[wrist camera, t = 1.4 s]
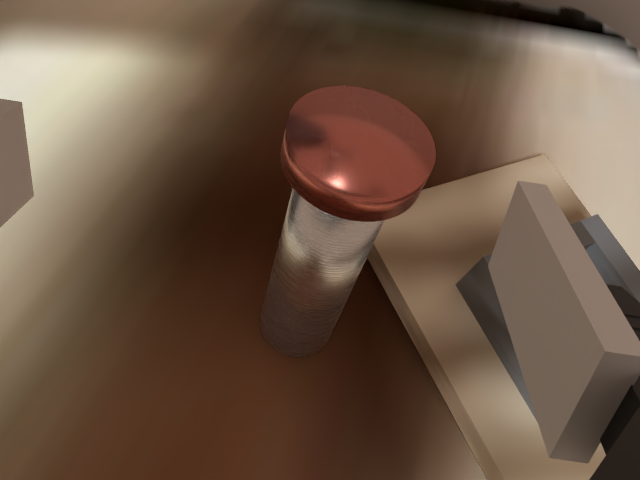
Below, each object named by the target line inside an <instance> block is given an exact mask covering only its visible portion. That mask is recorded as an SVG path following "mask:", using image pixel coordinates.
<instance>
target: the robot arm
mask: <svg viewBox="0 0 640 480" xmlns="http://www.w3.org/2000/svg"><path fill="white" fill-rule="evenodd" d="M33 196H34V193H33V186H32V178H31V170H30V162H29V154H28V147H27V139H26V131H25V123H24V116H23V108H22V102H17V101H11V100H5V99H0V227H1V226H2V225H3V224H4V223H5V222H7V221H8V220H9V219H10V218H11V217H12V216H13V215H14V214H15V213H16V212H17V211H18V210H19V209H20V208H21V207H22V206H23V205H24V204H26V203H27V202H28V201H29V200H30V199H31V198H32V197H33ZM488 268H489V271H490V274H491V277H492V281H493V284H494V287H495V290H496V293H497V296H498V299H499V302H500V306H501V309H502V312H503V315H504V318H505V321H506V324H507V328H508V331H509V334H510V337H511V340H512V343H513V346H514V350H515V353H516V356H517V359H518V362H519V365H520V368H521V372H522V375H523V378H524V381H525V384H526V387H527V390H528V393H529V397H530V400H531V403H532V406H533V409H534V412H535V415H536V419H537V422H538V425H539V428H540V431H541V434H542V437H543V441H544V444H545V447H546V450H547V453H548V456H549V458H553V459H560V460H567V461H573V462H580V463H587V464H588V463H589V461H590V460H591V458H592V456H593V454H594V453H595V451H596V449H597V448H598V446H599V444H600V442H601V444H602V447H603V449H604V451H605V454H606V456H605V457H604V459H603V460H602V462H601V463H600V465H599V466H598V468H597V469H596V471H595V472H594V474H593V475H592V476H591V478H590V479H589V480H640V302H639V301H638V300H637V299H635V298H634V297H633V296H632V295H631V294H629V293H628V292H627V291H626V290H625V289H624V288H622V287H621V286H615V285H609V284H605V282H604V280H603V279H602V277H601V275H600V274H599V272H598V270H597V269H596V267H595V265H594V264H593V262H592V260H591V259H590V257H589V255H588V254H587V252H586V250H585V249H584V247H583V245H582V244H581V242H580V240H579V239H578V237H577V235H576V234H575V232H574V230H573V229H572V227H571V225H570V223H569V222H568V220H567V218H566V217H565V215H564V213H563V212H562V210H561V208H560V207H559V205H558V203H557V202H556V200H555V198H554V197H553V195H552V193H551V192H550V190H549V188H548V187H547V185H544V184H537V183H531V182H525V181H518V182H517V185H516V187H515V190H514V193H513V196H512V199H511V202H510V205H509V207H508V210H507V213H506V216H505V219H504V222H503V224H502V227H501V230H500V233H499V236H498V239H497V242H496V244H495V247H494V250H493V253H492V256H491V259H490V261H489V264H488Z"/></svg>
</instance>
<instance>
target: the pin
mask: <svg viewBox="0 0 640 480" xmlns="http://www.w3.org/2000/svg"><path fill="white" fill-rule="evenodd" d="M280 160H281V166H282V169H283V172H284V174H285V176H286V178H287V180H288V182H289V183H290V185H291V186H292V187H293V189H292V193H291V197H290V201H289V205H288V209H287V212H286V216H285V220H284V224H283V228H282V232H281V236H280V240H279V244H278V248H277V252H276V256H275V260H274V264H273V268H272V272H271V276H270V280H269V283H268V287H267V291H266V295H265V299H264V303H263V307H262V311H261V315H260V328H261V332H262V334H263V336H264V338H265V339H266V341H267V342H268V343H269V344H270V345H271V346H272V347H273V348H274V349H276V350H277V351H279V352H281V353H283V354H286V355H289V356H294V357H304V356H309V355H312V354H314V353H316V352H318V351H320V350H321V349H322V348H323V347H324V346H325V345H326V344H327V342H328V340H329V338H330V336H331V334H332V332H333V330H334V328H335V325H336V323H337V321H338V319H339V317H340V315H341V312H342V310H343V308H344V306H345V304H346V302H347V300H348V297H349V295H350V293H351V291H352V289H353V287H354V284H355V282H356V280H357V278H358V276H359V274H360V272H361V269H362V267H363V265H364V263H365V261H366V259H367V256H368V254H369V252H370V250H371V248H372V246H373V244H374V241H375V239H376V237H377V235H378V233H379V231H380V228H381V226H382V224H383V222H384V220H387V219H391V218H393V217H396V216H398V215H400V214H402V213H404V212H405V211H407V210H408V209H409V208H410V207H411V206H412V205H413V204H414V203H415V202H416V200H417V198H418V197H419V195H420V193H421V191H422V189H423V187H424V185H425V183H426V181H427V179H428V177H429V175H430V173H431V171H432V169H433V167H434V164H435V160H436V148H435V143H434V140H433V138H432V135H431V133H430V132H429V130H428V128H427V127H426V125H425V124H424V123H423V121H422V120H421V119H420V118H419V117H418V116H417V115H416V114H415V113H414V112H413V111H411V110H410V109H409V108H407V107H406V106H405V105H403V104H402V103H400V102H398V101H397V100H395V99H393V98H391V97H389V96H387V95H384V94H382V93H379V92H376V91H373V90H370V89H366V88H361V87H355V86H330V87H324V88H320V89H317V90H314V91H311V92H310V93H308V94H306V95H304V96H303V97H301V98H300V99H299V100H298V101H297V102H296V103H295V104H294V105H293V107H292V108H291V110H290V112H289V115H288V119H287V123H286V128H285V133H284V137H283V142H282V147H281V151H280Z"/></svg>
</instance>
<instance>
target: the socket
mask: <svg viewBox="0 0 640 480" xmlns="http://www.w3.org/2000/svg"><path fill="white" fill-rule="evenodd" d="M518 181H525V182H531V183H537V184H544V185H547V187H548V188H549V190H550V192H551V193H552V195H553V197H554V198H555V200H556V202H557V203H558V205H559V207H560V208H561V210H562V212H563V213H564V215H565V217H566V218H567V220H568V222H569V223H570V225H571V227H572V229H573V230H574V232H575V234H576V235H577V237H578V239H579V240H580V242H581V244H582V245H583V247H584V249H585V250H586V252H587V254H588V255H589V257H590V259H591V260H592V262H593V264H594V265H595V267H596V269H597V270H598V272H599V274H600V275H601V277H602V279H603V280H604V282H605V284H609V285H615V286H621V287H622V288H624V289H625V290H626V291H627V292H628V293H629V294H631V295H632V296H633V297H634V298H635V299H637V300H638V301H639V302H640V271H639V269H638V268H637V267H636V265H635V264H634V263H633V261H632V260H631V259H630V257H629V256H628V255H627V253H626V252H625V250H624V249H623V248H622V246H621V245H620V244H619V242H618V241H617V240H616V238H615V237H614V236H613V234H612V233H611V232H610V230H609V229H608V227H607V226H606V225H605V223H604V222H603V221H602V219H601V218H600V217H599V215H598V214H597V215H594V216H591V215H590V214H589V212H588V211H587V210H586V208H585V207H584V205H583V204H582V203H581V201H580V200H579V199H578V197H577V196H576V195H575V193H574V192H573V190H572V189H571V188H570V186H569V185H568V184H567V182H566V181H565V179H564V178H563V177H562V175H561V174H560V173H559V171H558V170H557V169H556V167H555V166H554V164H553V163H552V162H551V160H550V159H549V158H548V156H547V155H546V154H543V155H540V156H537V157H533V158H530V159H526V160H523V161H520V162H516V163H513V164H509V165H506V166H503V167H499V168H496V169H492V170H489V171H486V172H482V173H479V174H475V175H472V176H468V177H465V178H462V179H458V180H455V181H451V182H448V183H445V184H441V185H438V186H434V187H431V188H428V189H424V190H422V191H421V193H420V195H419V197H418V198H417V200H416V202H415V203H414V204H413V205H412V206H411V207H410V208H409V209H408V210H407V211H405V212H404V213H402V214H400V215H398V216H396V217H393V218H391V219H387V220H384V222H383V224H382V226H381V228H380V231H379V233H378V235H377V237H376V239H375V241H374V244H373V246H372V248H371V250H370V252H369V254H368V256H367V259H368V260H369V262H370V264H371V266H372V268H373V270H374V272H375V273H376V275H377V277H378V279H379V281H380V283H381V284H382V286H383V288H384V290H385V292H386V294H387V295H388V297H389V299H390V301H391V303H392V305H393V306H394V308H395V310H396V312H397V314H398V316H399V317H400V319H401V321H402V323H403V325H404V327H405V329H406V330H407V332H408V334H409V336H410V338H411V340H412V341H413V343H414V345H415V347H416V349H417V351H418V352H419V354H420V356H421V358H422V360H423V362H424V363H425V365H426V367H427V369H428V371H429V373H430V375H431V376H432V378H433V380H434V382H435V384H436V386H437V387H438V389H439V391H440V393H441V395H442V397H443V398H444V400H445V402H446V404H447V406H448V408H449V409H450V411H451V413H452V415H453V417H454V419H455V421H456V422H457V424H458V426H459V428H460V430H461V432H462V433H463V435H464V437H465V439H466V441H467V443H468V444H469V446H470V448H471V450H472V452H473V454H474V455H475V457H476V459H477V461H478V463H479V465H480V467H481V468H482V470H483V472H484V474H485V476H486V478H487V479H488V480H589V479H590V478H591V476H592V475H593V474H594V472H595V471H596V469H597V468H598V466H599V465H600V463H601V462H602V460H603V459H604V457H605V456H606V454H605V451H604V449H603V447H602V444H601V442H600V444H599V446H598V448H597V449H596V451H595V453H594V454H593V456H592V458H591V460H590V461H589V463H588V464H587V463H580V462H573V461H567V460H560V459H553V458H549V456H548V453H547V450H546V447H545V444H544V441H543V437H542V434H541V431H540V428H539V425H538V422H537V419H536V415H535V412H534V409H533V406H532V403H531V400H530V397H529V393H528V390H527V387H526V384H525V381H524V378H523V375H522V372H521V368H520V365H519V362H518V359H517V356H516V353H515V350H514V346H513V343H512V340H511V337H510V334H509V331H508V328H507V324H506V321H505V318H504V315H503V312H502V309H501V306H500V302H499V299H498V296H497V293H496V290H495V287H494V284H493V281H492V277H491V274H490V271H489V268H488V264H489V261H490V259H491V256H492V253H493V250H494V247H495V244H496V242H497V239H498V236H499V233H500V230H501V227H502V224H503V222H504V219H505V216H506V213H507V210H508V207H509V205H510V202H511V199H512V196H513V193H514V190H515V187H516V185H517V182H518Z"/></svg>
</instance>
